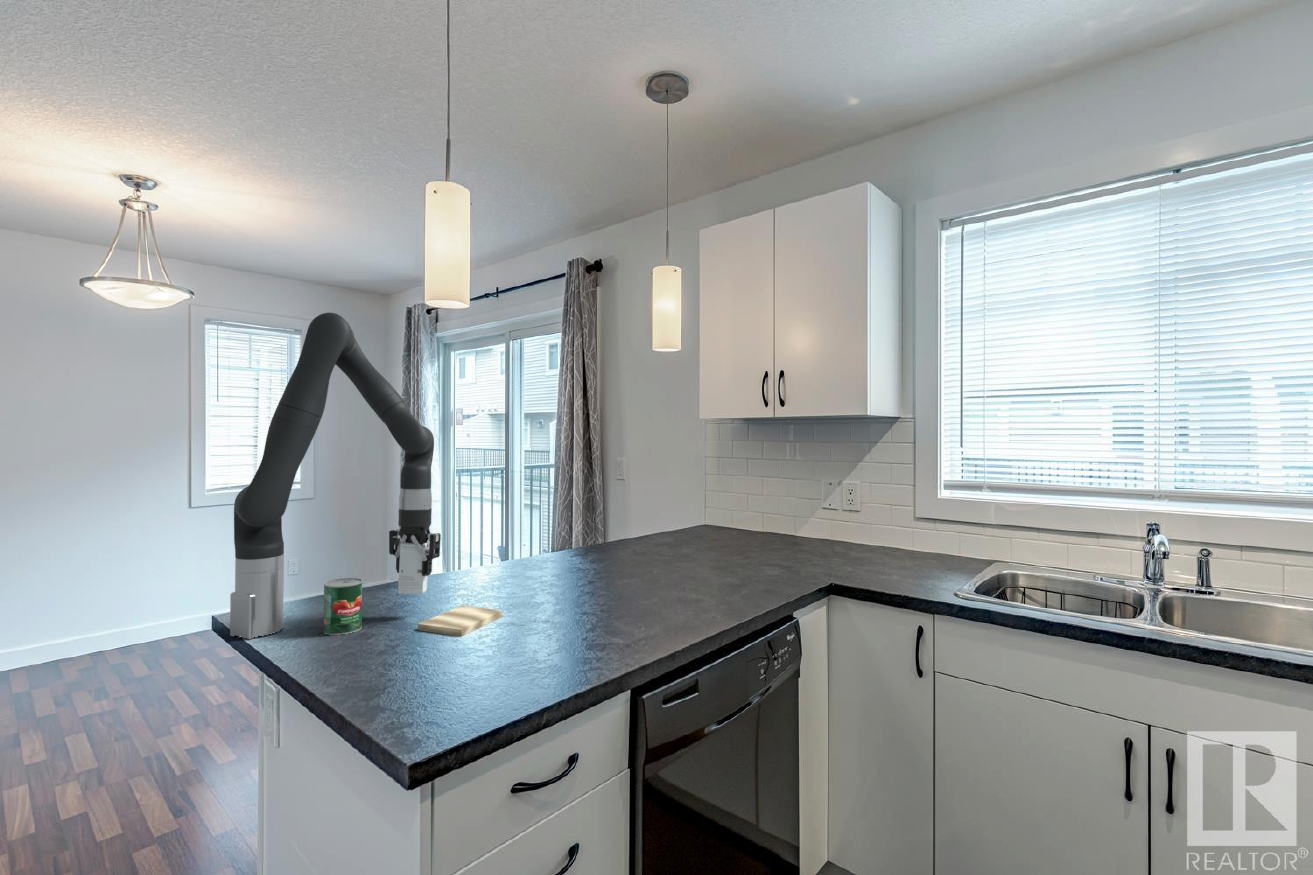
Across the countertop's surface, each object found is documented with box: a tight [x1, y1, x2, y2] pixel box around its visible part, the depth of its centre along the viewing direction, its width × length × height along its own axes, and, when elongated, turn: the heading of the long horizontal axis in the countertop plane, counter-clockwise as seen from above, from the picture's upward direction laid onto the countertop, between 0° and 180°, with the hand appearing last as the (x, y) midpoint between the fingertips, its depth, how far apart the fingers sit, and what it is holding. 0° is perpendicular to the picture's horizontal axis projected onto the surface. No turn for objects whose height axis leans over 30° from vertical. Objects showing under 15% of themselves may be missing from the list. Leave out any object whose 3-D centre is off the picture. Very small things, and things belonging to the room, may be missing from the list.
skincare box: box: [397, 543, 428, 595], centre depth 150 cm, size 6×4×12 cm
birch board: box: [417, 605, 504, 637], centre depth 146 cm, size 16×12×2 cm
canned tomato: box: [323, 577, 363, 636], centre depth 140 cm, size 8×8×11 cm
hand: (413, 573), depth 150 cm, fingers closed on skincare box, 7 cm apart
